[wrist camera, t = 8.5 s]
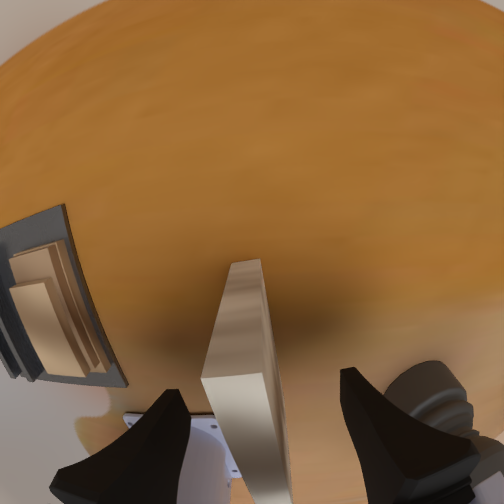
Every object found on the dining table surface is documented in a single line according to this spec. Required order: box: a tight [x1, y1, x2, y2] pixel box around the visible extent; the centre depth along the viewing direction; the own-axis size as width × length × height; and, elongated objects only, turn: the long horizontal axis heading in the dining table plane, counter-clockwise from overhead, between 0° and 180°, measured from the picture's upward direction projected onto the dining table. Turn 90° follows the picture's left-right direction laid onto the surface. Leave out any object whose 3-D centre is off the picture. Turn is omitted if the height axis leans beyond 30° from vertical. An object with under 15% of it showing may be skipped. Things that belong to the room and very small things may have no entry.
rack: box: [0, 204, 129, 388], centre depth 15 cm, size 13×13×2 cm
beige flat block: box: [201, 259, 293, 504], centre depth 12 cm, size 10×2×9 cm, turn 10°
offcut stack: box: [9, 239, 111, 377], centre depth 15 cm, size 9×5×2 cm, turn 10°
